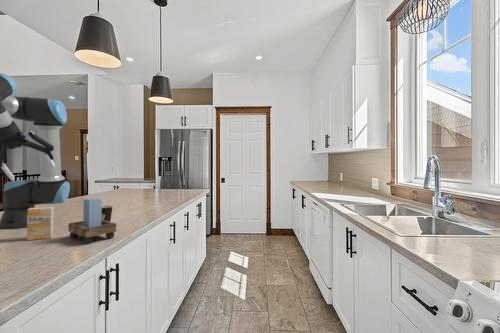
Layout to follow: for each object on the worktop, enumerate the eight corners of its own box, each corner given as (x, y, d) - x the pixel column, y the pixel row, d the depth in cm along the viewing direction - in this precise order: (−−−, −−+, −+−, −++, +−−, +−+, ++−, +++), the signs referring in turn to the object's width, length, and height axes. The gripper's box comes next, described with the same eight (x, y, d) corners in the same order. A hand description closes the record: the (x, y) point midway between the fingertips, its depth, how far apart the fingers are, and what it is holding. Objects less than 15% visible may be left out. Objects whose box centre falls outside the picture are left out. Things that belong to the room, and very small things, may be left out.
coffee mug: (115, 224, 136) (116, 205, 136) (105, 228, 128) (105, 208, 127) (95, 223, 137) (95, 204, 137) (83, 227, 129) (83, 207, 129)
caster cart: (68, 238, 110) (68, 223, 110) (97, 232, 120) (97, 218, 120) (85, 245, 101) (86, 228, 101) (115, 238, 111) (116, 223, 111)
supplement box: (26, 241, 105) (26, 209, 105) (29, 238, 109) (30, 207, 109) (51, 238, 109) (51, 208, 109) (53, 235, 113) (54, 206, 113)
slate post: (83, 227, 110) (83, 199, 110) (95, 224, 114) (95, 198, 114) (88, 228, 107) (89, 200, 107) (101, 226, 111) (101, 199, 111)
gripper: (-50, 140, 81) (-7, 190, 93) (42, 118, 91) (70, 165, 104) (-45, 130, 86) (-5, 179, 99) (42, 111, 96) (69, 157, 109)
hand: (34, 172), depth 101 cm, fingers open, 13 cm apart
